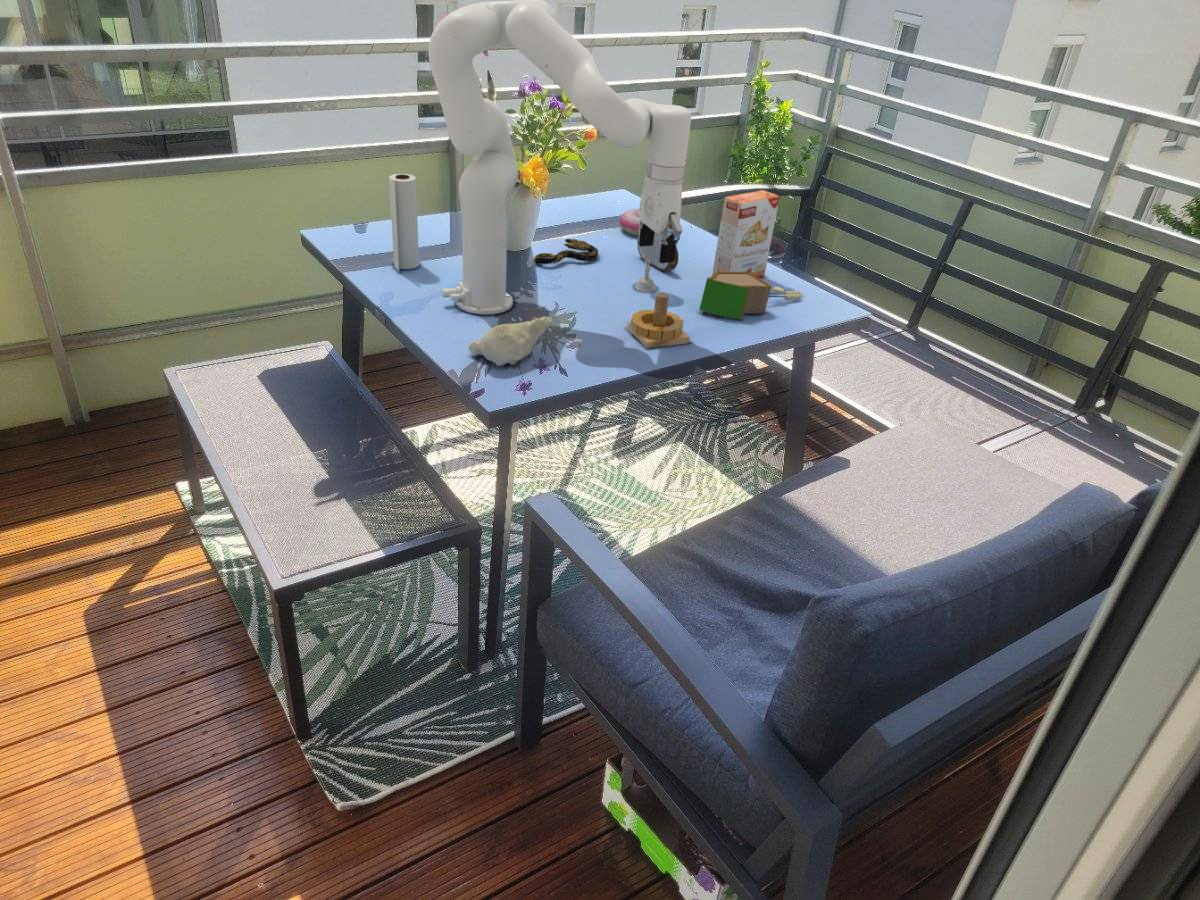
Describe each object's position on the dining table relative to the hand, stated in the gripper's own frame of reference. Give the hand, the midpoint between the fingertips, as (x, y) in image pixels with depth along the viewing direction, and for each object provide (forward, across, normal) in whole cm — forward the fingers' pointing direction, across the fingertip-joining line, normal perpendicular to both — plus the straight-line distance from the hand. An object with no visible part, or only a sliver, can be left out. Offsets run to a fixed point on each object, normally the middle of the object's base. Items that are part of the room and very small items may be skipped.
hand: (655, 253), depth 190 cm
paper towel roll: (+17, -46, -43) cm, 65 cm away
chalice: (+17, -20, +9) cm, 28 cm away
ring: (+15, +4, 0) cm, 16 cm away
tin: (+17, -33, +18) cm, 42 cm away
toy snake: (+17, -42, -3) cm, 46 cm away
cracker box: (+17, -20, +35) cm, 44 cm away
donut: (+17, -57, +26) cm, 65 cm away
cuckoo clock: (+17, -5, +30) cm, 34 cm away
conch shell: (+17, +6, -33) cm, 37 cm away
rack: (+17, +5, 0) cm, 17 cm away
